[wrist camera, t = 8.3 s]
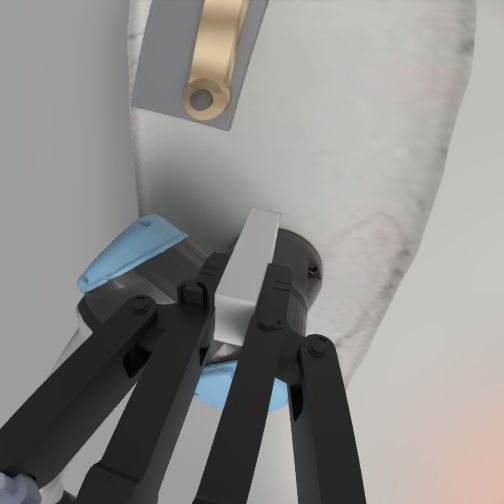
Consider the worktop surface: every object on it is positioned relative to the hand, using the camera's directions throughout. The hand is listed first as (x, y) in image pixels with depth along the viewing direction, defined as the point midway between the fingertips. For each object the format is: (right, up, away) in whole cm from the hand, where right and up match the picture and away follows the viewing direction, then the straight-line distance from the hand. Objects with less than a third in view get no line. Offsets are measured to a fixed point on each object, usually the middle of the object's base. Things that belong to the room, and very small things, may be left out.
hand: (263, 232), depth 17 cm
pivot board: (-6, +28, +12) cm, 31 cm away
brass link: (-4, +23, +13) cm, 27 cm away
